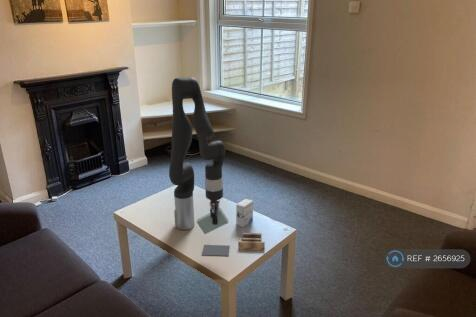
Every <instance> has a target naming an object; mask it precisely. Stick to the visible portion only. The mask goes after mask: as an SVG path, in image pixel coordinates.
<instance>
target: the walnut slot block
mask: <svg viewBox="0 0 476 317" xmlns="http://www.w3.org/2000/svg"><path fill="white" fill-rule="evenodd" d="M241 236H242V237H241V241H243V242H262V233H261V232H259V233H258V232H242V235H241Z"/></svg>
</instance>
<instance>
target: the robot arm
mask: <svg viewBox="0 0 476 317" xmlns="http://www.w3.org/2000/svg"><path fill="white" fill-rule="evenodd" d="M171 99H172V102H171V103H172V104H171V105H172V125H171V127H172V128H171V153H170V154H171V155H170V164H169V170H168V176H169V181H170V182H171V183H172V185H174V186H176V187H175V188H174V190H173V197H174V198H173V200H174V210H173V213H174V225H175V227H174V228H175V229H178V230H182V231H187V230H191V229H193V228H194V227H195V208H194V206H195V205H194V190H195V171H194V167H193V166H192V165H191V163H189V162H184V160H185V157H186V155H187V153H188V151H189V149H190V146H191V143H192V142H193V128H194V131H195V134H196V136H197V138H198V146H199V153H200V154H199V155H200V156H201V158H202V159H203V160H205V161H210V162H209V163H206V165H205V168H204V171H205V172H204V173H205V179H204V180H205V181H204V184H205V185H204V186H205V188H204V189H205V198H206V199H207V200H210V201H209V207H210V208H209V209H210V210H209V213H211V218H212V224H213V225H217V224H218V220H217V217H218V211H219V208H220V203H221V200H222V199H223V198H224V182H223V164H224V161H225V157H226V151H227V150H226V146H225V143H224V142H223V141H221V140H214V141H210V142H208V141H209V140H210V139H212V138H213V137H214V136H215V131H214V129H213V126H212V124H211V122H210V119H209V116H208V114H207V110H206V106H205V103H204V102H205V101H204V98H203V94H202V91H201V87H200V84H199V81H198V80H197V79H196V78H195V77H192V76H188V77H185V76H184V77H176V78H174V79H173V80H172V82H171ZM188 99H189V100H190V99H192V101H193V104H194V108H193V115H192V122H191V121H190V119H189V118H188V116H187V114H186V113H185V110H184V104H183V103H184V100H188ZM211 160H212V161H211Z"/></svg>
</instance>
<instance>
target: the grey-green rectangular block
mask: <svg viewBox="0 0 476 317" xmlns="http://www.w3.org/2000/svg"><path fill="white" fill-rule="evenodd" d="M217 220H218V224H217V225H213V224H212V218H211V213H210V212H209V213H207V214H205V215H204V216H201V217H199V218H197V220H196V224H197V225H198V226H199V228H200V230H201V231H202V233H204V235H207V234H209V233H211V232H213V231H214V230H218V229H220V228H221V227H222V226H224V225H226V224H229V219H228V217H227V216H226V214H225V213H224V212H223V209H222V208H221V207H219V211H218V217H217Z"/></svg>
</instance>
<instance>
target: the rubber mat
mask: <svg viewBox="0 0 476 317" xmlns="http://www.w3.org/2000/svg"><path fill="white" fill-rule="evenodd" d="M230 246H231V245H226V244H225V245H224V244H223V245H222V244H219V245H218V244H204V245H203V249H202V252H201V256H208V257H209V256H210V257H212V256H214V257H230V254H229V253H230V249H231V248H230Z"/></svg>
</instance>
